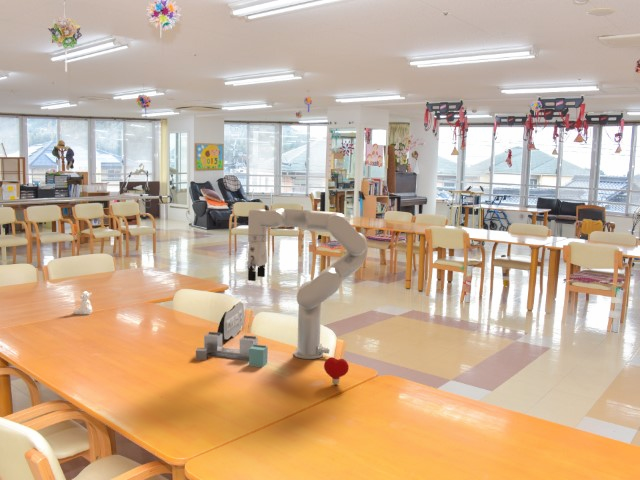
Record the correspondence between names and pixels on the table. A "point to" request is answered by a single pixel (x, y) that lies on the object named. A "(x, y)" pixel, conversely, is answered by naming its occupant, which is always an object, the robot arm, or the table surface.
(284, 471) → the table surface
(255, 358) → the module
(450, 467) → the table surface
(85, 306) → the white creature statuette
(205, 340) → the board
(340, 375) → the light bulb
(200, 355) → the block
